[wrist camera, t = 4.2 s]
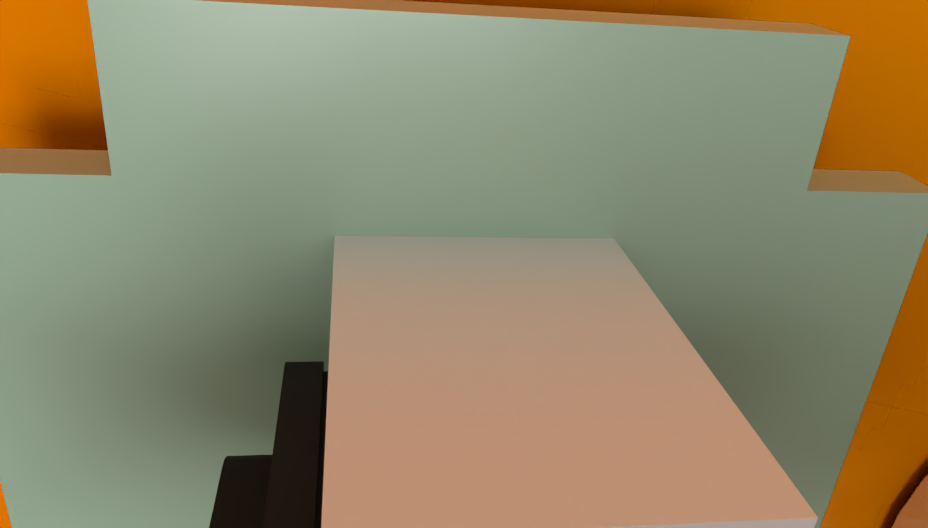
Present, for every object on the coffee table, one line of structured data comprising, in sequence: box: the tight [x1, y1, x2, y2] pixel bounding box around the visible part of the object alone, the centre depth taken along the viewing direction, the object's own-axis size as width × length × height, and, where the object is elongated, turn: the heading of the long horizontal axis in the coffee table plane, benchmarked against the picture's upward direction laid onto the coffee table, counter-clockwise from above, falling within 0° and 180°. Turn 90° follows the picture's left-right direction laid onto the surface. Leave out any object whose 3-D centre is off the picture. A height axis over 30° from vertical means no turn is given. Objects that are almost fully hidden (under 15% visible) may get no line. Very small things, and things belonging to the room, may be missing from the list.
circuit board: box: [0, 0, 928, 528], centre depth 10 cm, size 14×12×6 cm
